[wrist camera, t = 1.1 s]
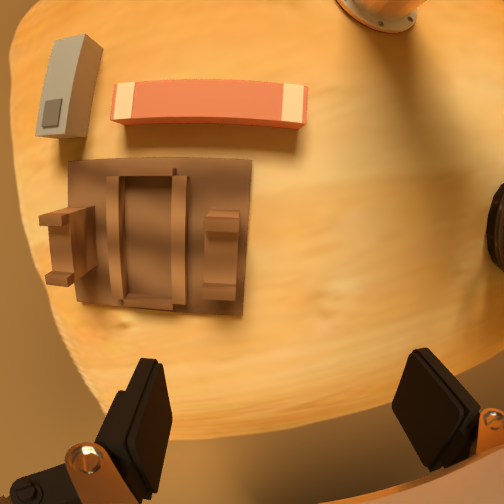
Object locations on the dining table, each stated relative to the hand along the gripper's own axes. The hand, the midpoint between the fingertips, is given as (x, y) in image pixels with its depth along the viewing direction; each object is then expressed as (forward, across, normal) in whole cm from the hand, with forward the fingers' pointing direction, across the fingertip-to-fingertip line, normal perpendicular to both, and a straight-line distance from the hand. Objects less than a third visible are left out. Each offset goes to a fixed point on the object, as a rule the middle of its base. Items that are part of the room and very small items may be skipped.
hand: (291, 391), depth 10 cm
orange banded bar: (+26, +5, -15) cm, 30 cm away
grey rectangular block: (+26, +22, -19) cm, 39 cm away
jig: (+25, +12, 0) cm, 28 cm away
